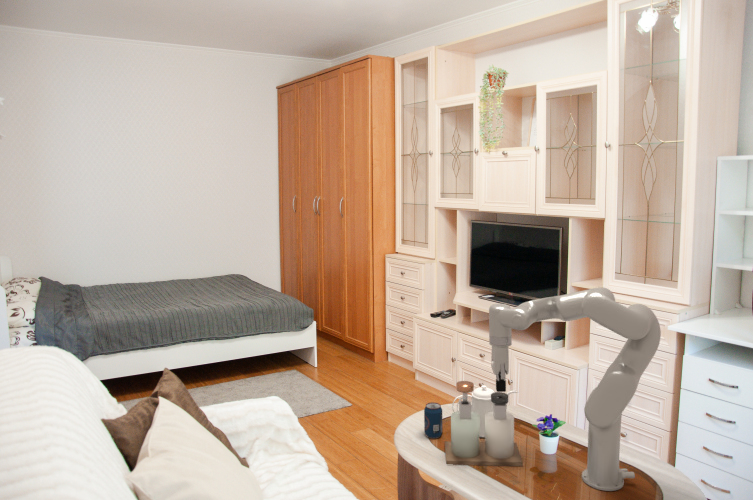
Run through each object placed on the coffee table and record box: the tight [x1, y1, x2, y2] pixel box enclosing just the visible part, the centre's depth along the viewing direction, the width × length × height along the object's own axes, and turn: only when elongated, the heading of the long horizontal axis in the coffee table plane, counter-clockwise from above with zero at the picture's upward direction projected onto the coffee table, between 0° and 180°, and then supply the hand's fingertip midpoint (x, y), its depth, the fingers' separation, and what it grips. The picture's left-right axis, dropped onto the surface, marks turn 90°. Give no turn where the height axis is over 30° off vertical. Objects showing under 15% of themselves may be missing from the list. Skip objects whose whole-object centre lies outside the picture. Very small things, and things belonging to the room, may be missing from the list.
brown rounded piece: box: [455, 380, 475, 404], centre depth 196 cm, size 6×6×8 cm
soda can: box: [423, 402, 444, 439], centre depth 214 cm, size 7×7×12 cm
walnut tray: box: [444, 440, 524, 467], centre depth 198 cm, size 26×14×2 cm, turn 85°
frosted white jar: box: [484, 403, 515, 459], centre depth 197 cm, size 10×10×18 cm
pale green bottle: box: [450, 400, 480, 458], centre depth 198 cm, size 10×10×18 cm
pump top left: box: [491, 391, 509, 405], centre depth 196 cm, size 6×6×8 cm
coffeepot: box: [451, 384, 519, 439], centre depth 215 cm, size 11×25×19 cm, turn 84°
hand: (500, 390), depth 195 cm, fingers closed
